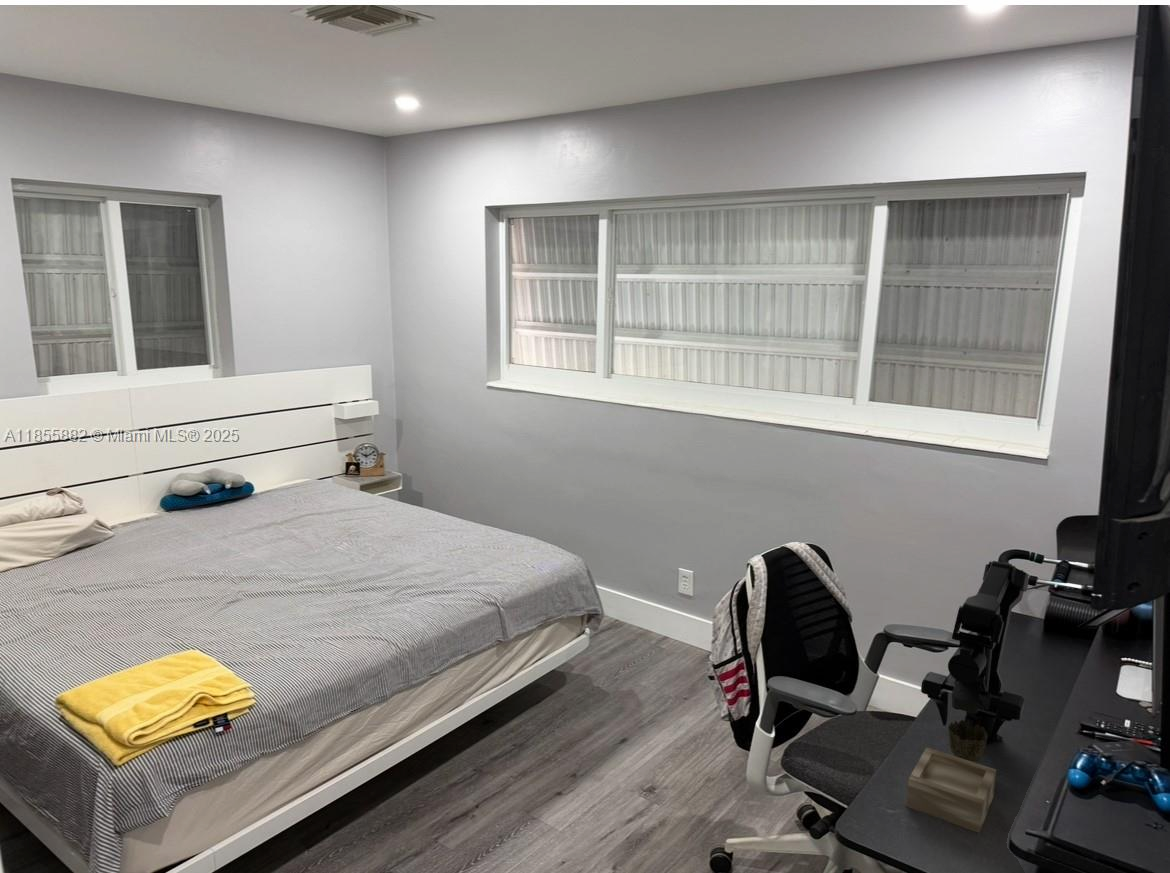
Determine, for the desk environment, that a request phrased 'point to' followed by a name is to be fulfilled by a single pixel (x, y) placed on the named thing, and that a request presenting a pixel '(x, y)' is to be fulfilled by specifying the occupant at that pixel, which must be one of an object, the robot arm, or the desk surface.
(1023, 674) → the desk surface
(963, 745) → the cup
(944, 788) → the wooden box
